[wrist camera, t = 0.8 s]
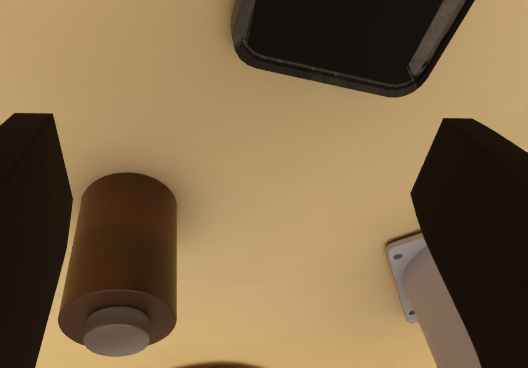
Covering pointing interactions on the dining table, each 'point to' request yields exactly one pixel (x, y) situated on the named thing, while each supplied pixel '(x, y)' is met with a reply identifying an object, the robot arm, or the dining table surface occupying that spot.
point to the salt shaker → (122, 267)
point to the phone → (348, 40)
